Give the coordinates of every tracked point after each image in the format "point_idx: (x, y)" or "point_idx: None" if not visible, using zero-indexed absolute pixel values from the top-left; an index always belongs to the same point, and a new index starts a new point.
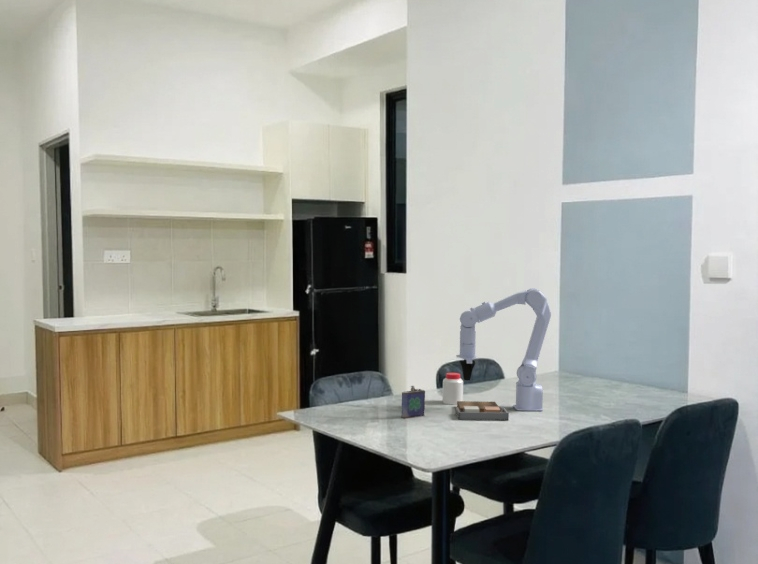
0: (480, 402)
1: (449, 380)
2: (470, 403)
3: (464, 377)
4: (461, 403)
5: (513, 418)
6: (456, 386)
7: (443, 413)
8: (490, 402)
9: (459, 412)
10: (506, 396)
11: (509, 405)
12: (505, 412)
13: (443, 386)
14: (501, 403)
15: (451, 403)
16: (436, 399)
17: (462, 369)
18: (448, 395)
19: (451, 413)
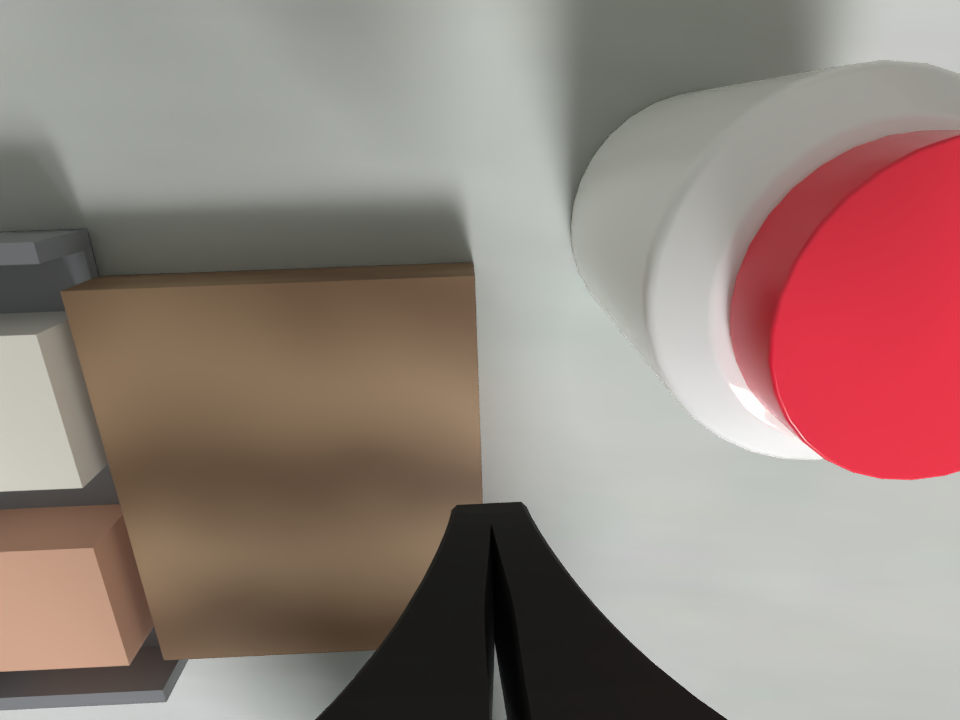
0: (431, 520)
1: (720, 206)
2: (363, 419)
3: (442, 541)
4: (344, 320)
5: None
6: (629, 318)
7: (63, 71)
8: None
9: None
10: (932, 716)
11: None
12: (2, 688)
13: (765, 82)
14: None
15: (574, 203)
16: (896, 13)
17: (476, 642)
18: (616, 169)
19: (94, 174)
